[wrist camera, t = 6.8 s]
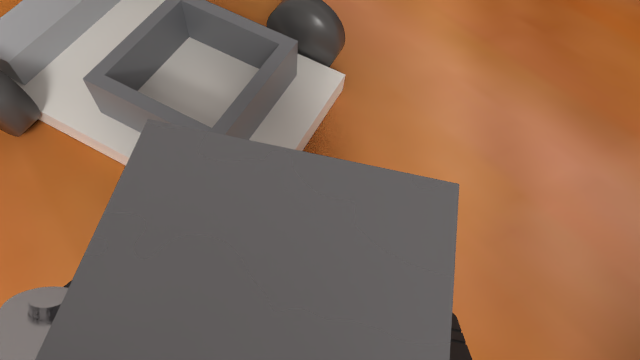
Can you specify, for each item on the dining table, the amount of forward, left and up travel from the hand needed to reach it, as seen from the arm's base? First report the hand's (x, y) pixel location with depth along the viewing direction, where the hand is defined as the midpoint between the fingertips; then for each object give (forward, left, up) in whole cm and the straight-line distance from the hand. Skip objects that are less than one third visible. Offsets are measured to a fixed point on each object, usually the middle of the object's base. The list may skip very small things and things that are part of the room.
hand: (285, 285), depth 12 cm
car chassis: (-15, +11, -14) cm, 23 cm away
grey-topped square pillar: (0, -2, -5) cm, 5 cm away
